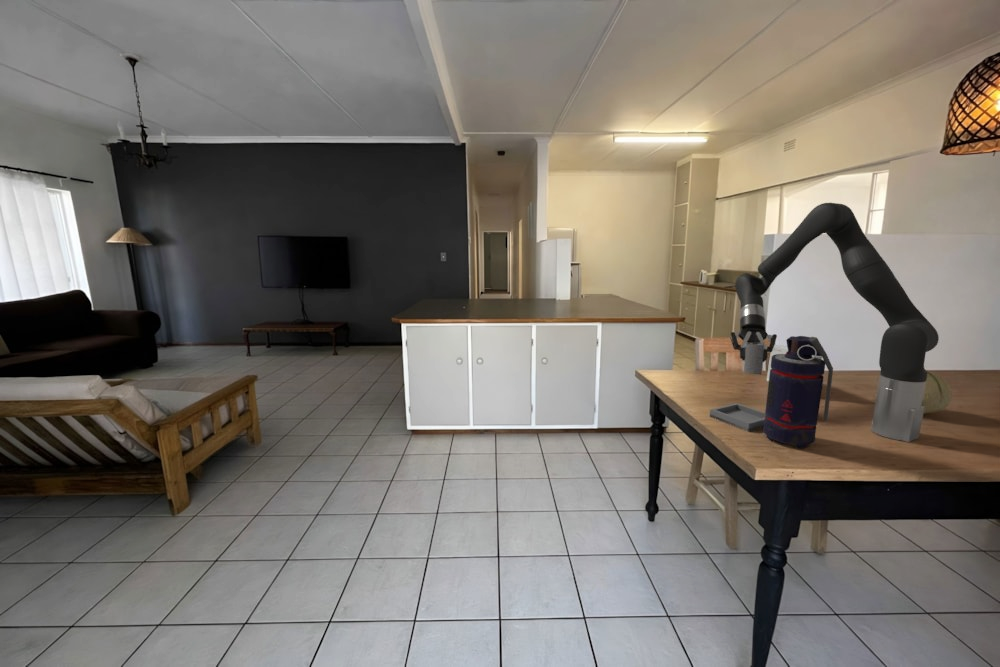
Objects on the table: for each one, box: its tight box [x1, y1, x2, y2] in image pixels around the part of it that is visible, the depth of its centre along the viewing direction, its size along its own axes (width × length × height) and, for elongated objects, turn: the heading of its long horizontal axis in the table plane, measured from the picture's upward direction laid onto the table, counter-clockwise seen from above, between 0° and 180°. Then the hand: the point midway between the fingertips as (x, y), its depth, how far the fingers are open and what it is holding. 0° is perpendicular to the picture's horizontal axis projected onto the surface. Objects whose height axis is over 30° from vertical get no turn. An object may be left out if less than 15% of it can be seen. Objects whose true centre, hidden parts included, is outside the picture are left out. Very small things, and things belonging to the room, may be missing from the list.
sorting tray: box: [709, 402, 766, 432], centre depth 126 cm, size 13×13×2 cm
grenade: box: [763, 335, 834, 449], centre depth 108 cm, size 14×12×30 cm
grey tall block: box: [741, 342, 764, 376], centre depth 132 cm, size 5×5×10 cm
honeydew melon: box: [921, 370, 953, 415], centre depth 129 cm, size 15×15×15 cm
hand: (753, 359), depth 131 cm, fingers closed on grey tall block, 5 cm apart
